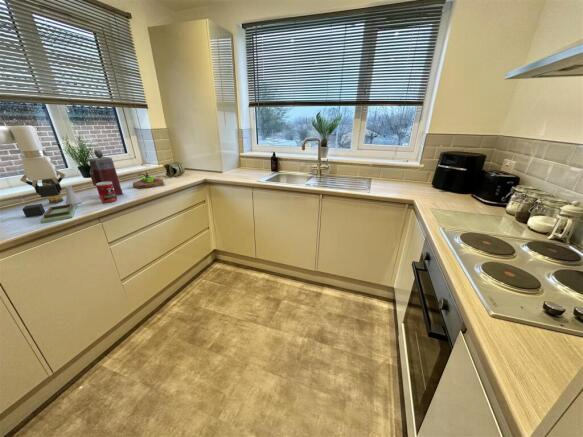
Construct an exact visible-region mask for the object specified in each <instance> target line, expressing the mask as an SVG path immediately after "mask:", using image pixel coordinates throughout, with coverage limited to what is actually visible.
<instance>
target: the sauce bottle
mask: <svg viewBox="0 0 583 437" xmlns="http://www.w3.org/2000/svg"><path fill="white" fill-rule="evenodd" d="M41 184H42V185H41V186H43V185H51V184H55V182H54V181H53V180H52V179H45V180H41ZM46 198H47V201H48V202H49V203H51V204H55V203H56V204H57V203H61V202H63V201H64V199H63V196H62V191H61V192H60V194H59V195H56V196H49V197H46Z"/></svg>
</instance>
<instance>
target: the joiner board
mask: <svg viewBox="0 0 583 437" xmlns="http://www.w3.org/2000/svg"><path fill="white" fill-rule="evenodd" d="M77 207H78V205H77V204H68V205H67V204H61V205H54V206H50V207H49V208H48V209H47V210H46V211H45V213H44V214H43V217H42V218H41V219H40V223H41V224H45V223H51V222H57V221H62V220H69V219H73V217H74V215H75V212H76V211H77Z"/></svg>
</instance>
